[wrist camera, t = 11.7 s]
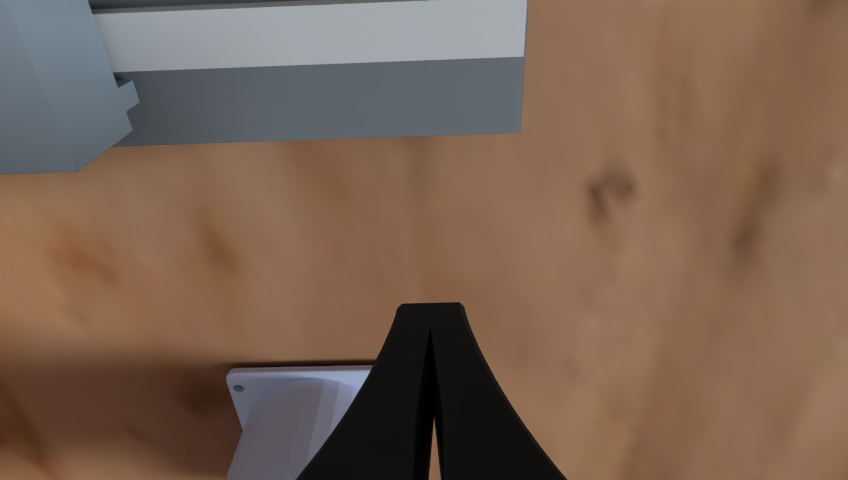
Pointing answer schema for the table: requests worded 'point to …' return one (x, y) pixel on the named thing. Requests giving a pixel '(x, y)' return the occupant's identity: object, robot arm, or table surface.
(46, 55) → the carriage
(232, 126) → the rail base
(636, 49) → the table surface
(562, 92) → the table surface
